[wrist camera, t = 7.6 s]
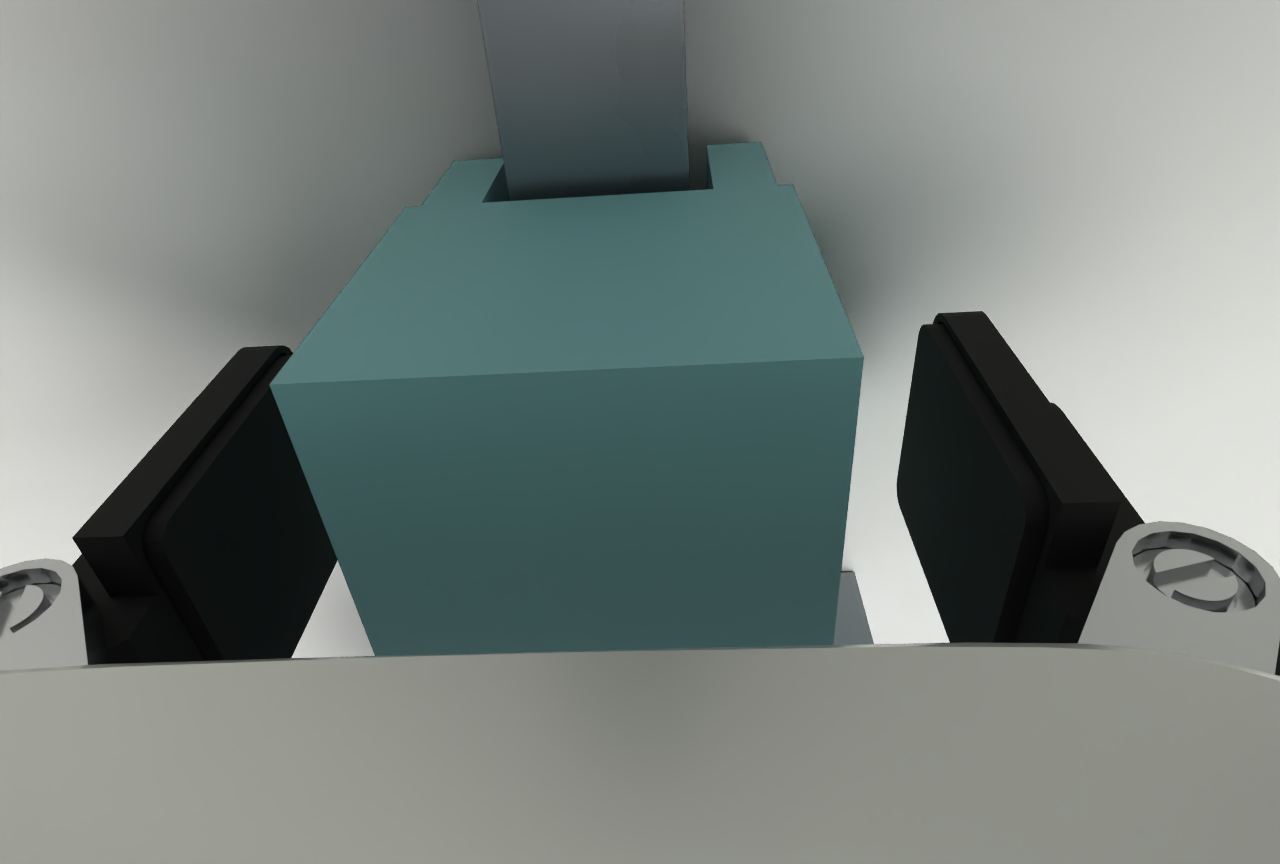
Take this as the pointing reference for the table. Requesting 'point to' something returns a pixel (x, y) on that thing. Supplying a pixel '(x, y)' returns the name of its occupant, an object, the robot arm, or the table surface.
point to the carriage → (585, 419)
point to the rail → (588, 95)
